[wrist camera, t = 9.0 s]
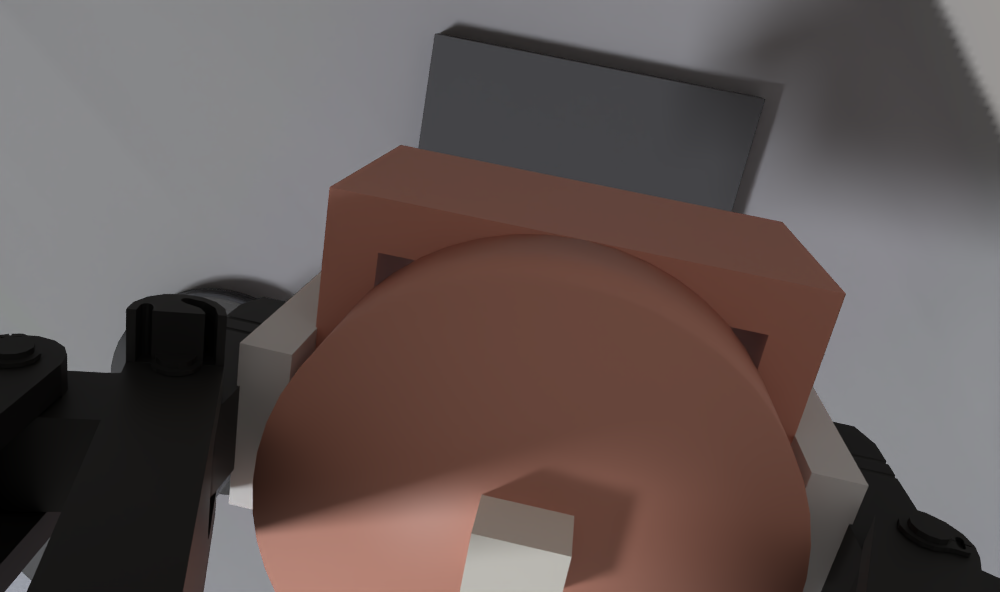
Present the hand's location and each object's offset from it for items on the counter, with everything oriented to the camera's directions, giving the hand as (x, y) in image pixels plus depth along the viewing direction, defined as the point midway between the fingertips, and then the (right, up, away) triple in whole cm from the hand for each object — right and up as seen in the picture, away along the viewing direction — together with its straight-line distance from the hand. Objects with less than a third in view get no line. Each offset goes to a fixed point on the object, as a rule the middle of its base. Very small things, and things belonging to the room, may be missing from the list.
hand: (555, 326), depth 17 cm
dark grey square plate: (+1, +3, +8) cm, 9 cm away
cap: (0, -1, -1) cm, 2 cm away
